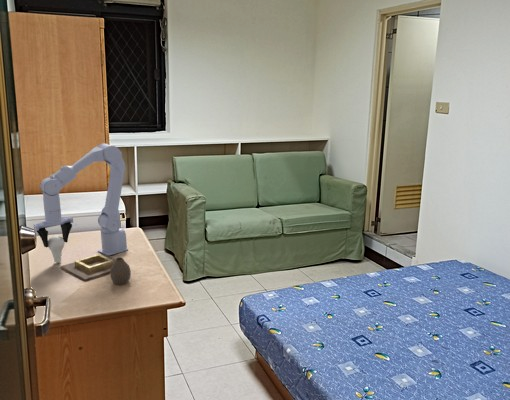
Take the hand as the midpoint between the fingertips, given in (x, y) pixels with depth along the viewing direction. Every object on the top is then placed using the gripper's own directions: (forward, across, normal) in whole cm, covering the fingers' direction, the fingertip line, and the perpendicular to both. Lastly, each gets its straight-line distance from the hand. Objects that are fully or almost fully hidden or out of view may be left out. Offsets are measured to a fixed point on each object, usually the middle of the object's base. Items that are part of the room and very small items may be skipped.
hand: (55, 244), depth 189 cm
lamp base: (+8, -7, +15) cm, 18 cm away
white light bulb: (+8, 0, 0) cm, 8 cm away
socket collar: (+8, -7, +15) cm, 18 cm away
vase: (+8, -6, +34) cm, 35 cm away
